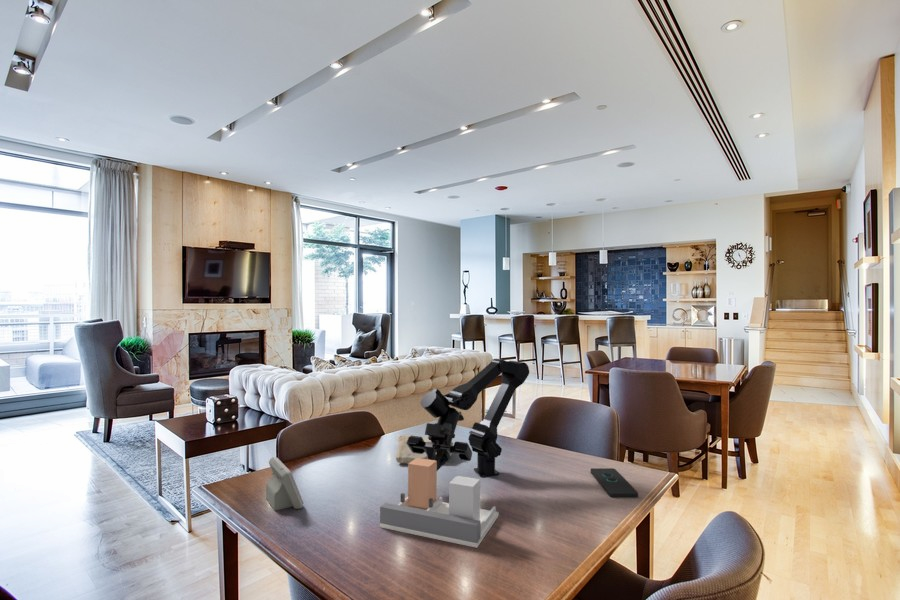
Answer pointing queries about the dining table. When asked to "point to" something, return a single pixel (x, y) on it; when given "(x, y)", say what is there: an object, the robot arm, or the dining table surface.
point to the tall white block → (464, 497)
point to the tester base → (436, 522)
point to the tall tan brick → (422, 482)
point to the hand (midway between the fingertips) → (430, 475)
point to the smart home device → (613, 483)
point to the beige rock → (408, 450)
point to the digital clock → (282, 487)
